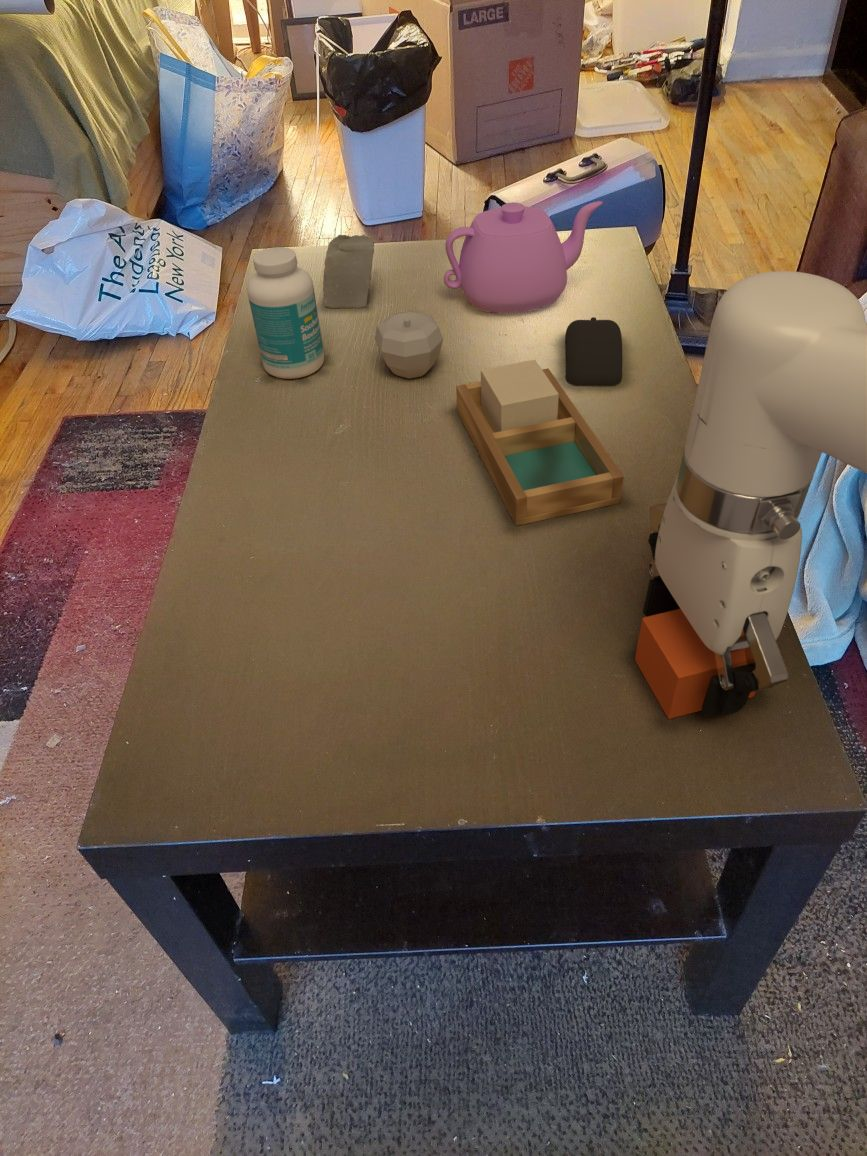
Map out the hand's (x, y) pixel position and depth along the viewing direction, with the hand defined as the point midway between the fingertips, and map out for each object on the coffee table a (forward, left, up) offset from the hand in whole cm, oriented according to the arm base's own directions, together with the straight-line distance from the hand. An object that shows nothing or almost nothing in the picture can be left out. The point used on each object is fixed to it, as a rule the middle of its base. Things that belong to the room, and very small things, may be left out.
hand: (690, 658), depth 64 cm
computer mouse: (-11, -46, -2) cm, 47 cm away
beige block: (+2, -35, -1) cm, 35 cm away
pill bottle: (+23, -57, -2) cm, 61 cm away
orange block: (0, 0, -2) cm, 2 cm away
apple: (+10, -51, -2) cm, 52 cm away
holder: (+2, -31, -2) cm, 31 cm away
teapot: (-8, -64, -2) cm, 64 cm away
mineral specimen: (+13, -72, -2) cm, 73 cm away
